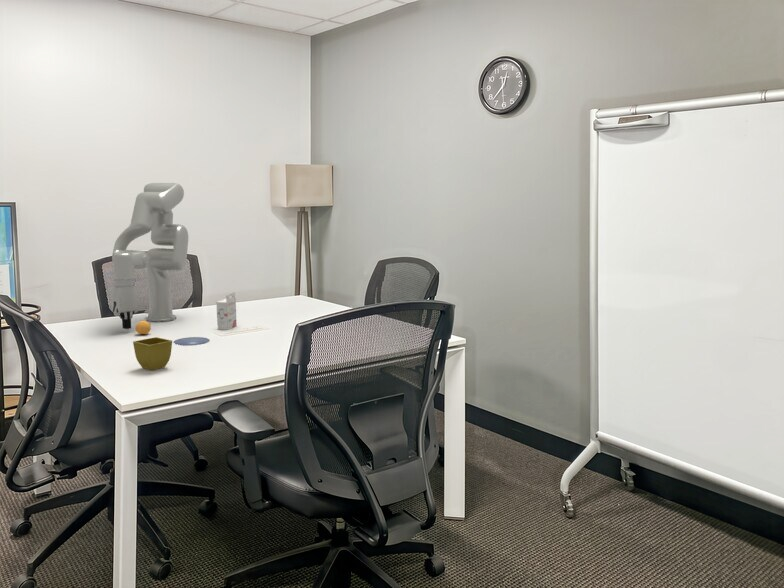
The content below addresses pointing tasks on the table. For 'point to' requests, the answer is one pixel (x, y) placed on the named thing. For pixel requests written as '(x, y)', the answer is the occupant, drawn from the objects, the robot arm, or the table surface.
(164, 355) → the flower pot
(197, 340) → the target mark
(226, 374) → the table surface
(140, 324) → the ball
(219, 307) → the ink cartridge box
